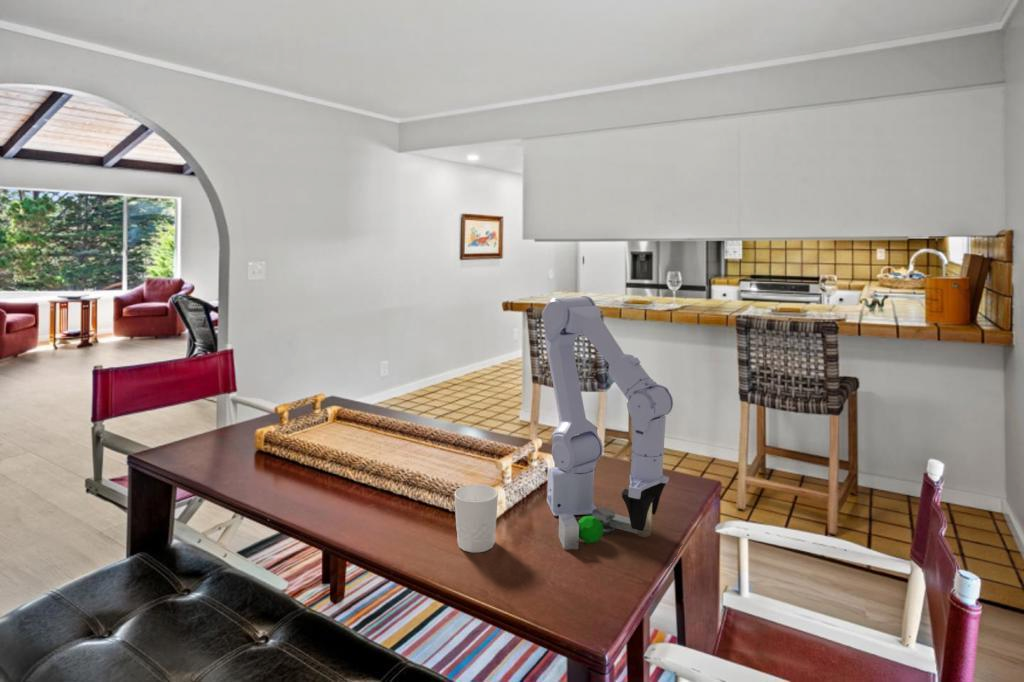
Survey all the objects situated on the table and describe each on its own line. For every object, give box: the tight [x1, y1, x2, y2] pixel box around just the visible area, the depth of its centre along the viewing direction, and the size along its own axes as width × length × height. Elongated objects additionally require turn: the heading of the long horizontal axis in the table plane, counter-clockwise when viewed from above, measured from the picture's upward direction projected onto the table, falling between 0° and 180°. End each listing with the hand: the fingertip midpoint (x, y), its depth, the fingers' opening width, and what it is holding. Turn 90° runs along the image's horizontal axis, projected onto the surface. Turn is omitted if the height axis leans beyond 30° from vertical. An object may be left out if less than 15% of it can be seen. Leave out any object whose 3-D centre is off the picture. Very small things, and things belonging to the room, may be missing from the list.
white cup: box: [453, 483, 499, 553], centre depth 112 cm, size 8×8×10 cm
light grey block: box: [557, 513, 580, 550], centre depth 113 cm, size 3×5×4 cm, turn 8°
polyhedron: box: [577, 515, 604, 544], centre depth 114 cm, size 5×5×5 cm
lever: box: [591, 503, 653, 538], centre depth 117 cm, size 12×4×6 cm, turn 59°
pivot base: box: [602, 527, 616, 535], centre depth 119 cm, size 5×5×1 cm
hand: (643, 520), depth 115 cm, fingers open, 7 cm apart
